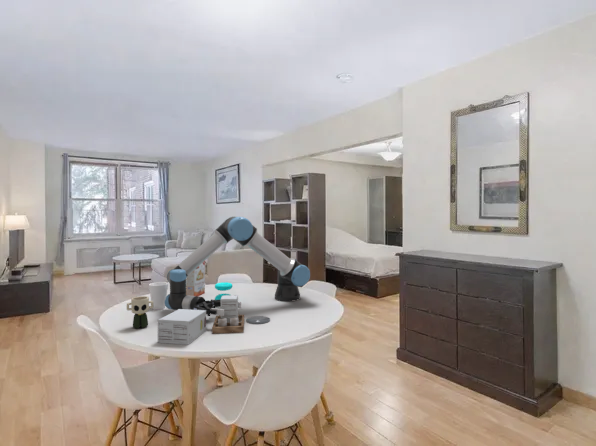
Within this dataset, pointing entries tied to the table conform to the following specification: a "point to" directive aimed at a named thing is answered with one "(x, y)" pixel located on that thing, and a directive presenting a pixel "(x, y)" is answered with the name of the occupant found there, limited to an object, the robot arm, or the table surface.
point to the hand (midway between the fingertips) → (232, 308)
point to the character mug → (140, 310)
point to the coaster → (258, 319)
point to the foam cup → (158, 294)
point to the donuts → (222, 289)
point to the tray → (228, 325)
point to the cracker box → (196, 281)
